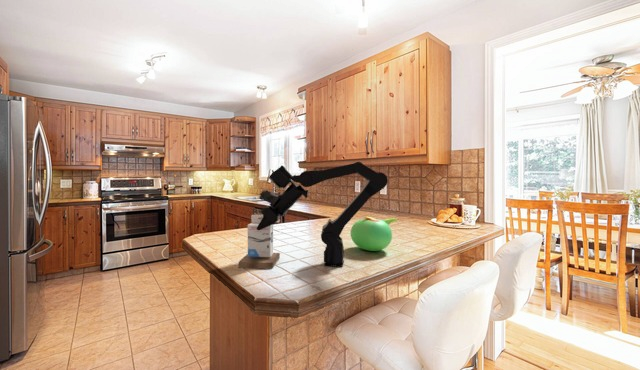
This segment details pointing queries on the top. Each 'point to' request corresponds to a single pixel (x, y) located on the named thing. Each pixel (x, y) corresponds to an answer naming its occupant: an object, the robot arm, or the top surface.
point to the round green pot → (372, 233)
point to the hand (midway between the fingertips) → (259, 228)
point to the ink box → (259, 239)
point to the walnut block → (259, 261)
